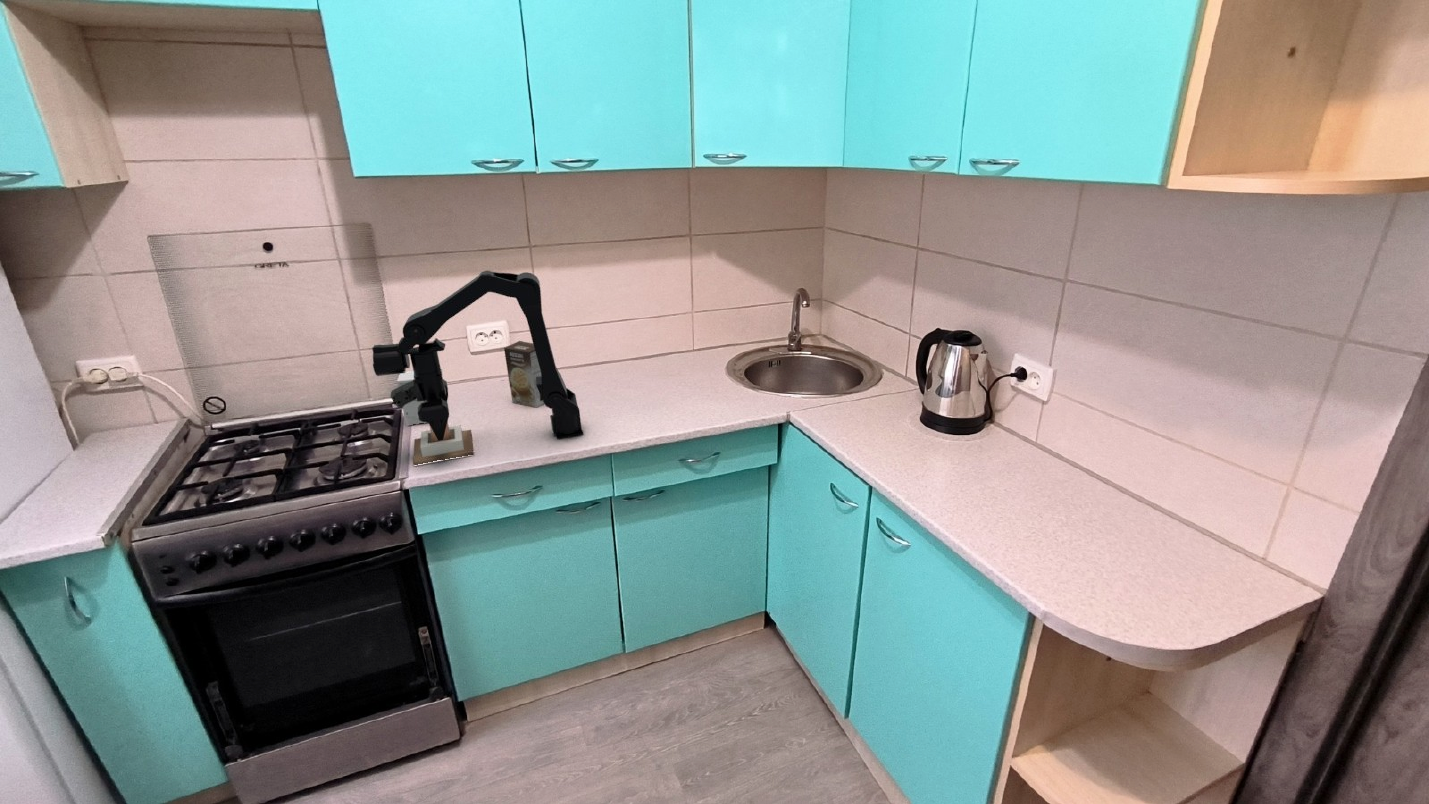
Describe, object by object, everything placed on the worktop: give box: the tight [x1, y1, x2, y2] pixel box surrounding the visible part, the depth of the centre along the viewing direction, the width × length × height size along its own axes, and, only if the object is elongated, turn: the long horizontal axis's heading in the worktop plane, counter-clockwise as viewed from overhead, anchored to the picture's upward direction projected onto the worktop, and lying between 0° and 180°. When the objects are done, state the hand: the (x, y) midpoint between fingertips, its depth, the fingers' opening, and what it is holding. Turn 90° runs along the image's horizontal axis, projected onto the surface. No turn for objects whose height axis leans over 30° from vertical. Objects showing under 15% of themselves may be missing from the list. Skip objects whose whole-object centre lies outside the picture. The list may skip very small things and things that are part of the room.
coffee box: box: [503, 340, 545, 408], centre depth 182 cm, size 9×6×16 cm
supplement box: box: [396, 370, 427, 427], centre depth 174 cm, size 7×7×13 cm
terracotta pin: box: [428, 422, 451, 443], centre depth 158 cm, size 4×4×8 cm
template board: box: [412, 424, 475, 466], centre depth 159 cm, size 13×13×4 cm
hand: (440, 432), depth 158 cm, fingers open, 9 cm apart
